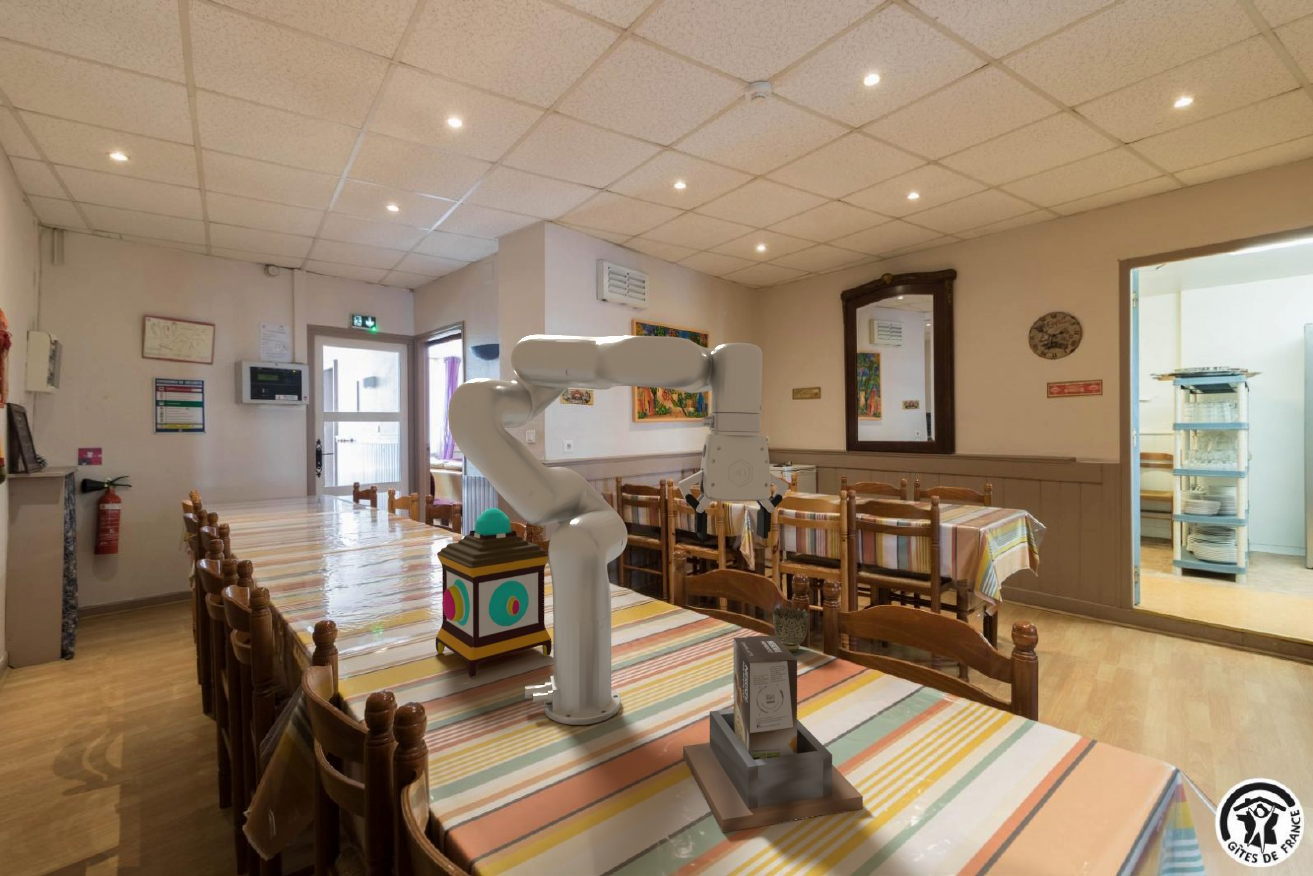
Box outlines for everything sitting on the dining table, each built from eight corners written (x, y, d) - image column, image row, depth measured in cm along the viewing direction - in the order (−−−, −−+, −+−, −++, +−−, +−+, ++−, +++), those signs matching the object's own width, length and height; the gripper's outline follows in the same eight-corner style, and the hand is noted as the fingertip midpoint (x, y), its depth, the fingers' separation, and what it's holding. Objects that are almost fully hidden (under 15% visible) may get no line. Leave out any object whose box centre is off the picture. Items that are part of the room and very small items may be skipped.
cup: (809, 658, 118) (809, 618, 118) (772, 655, 120) (772, 616, 120) (807, 644, 126) (808, 607, 126) (772, 642, 127) (772, 605, 127)
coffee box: (799, 789, 73) (800, 660, 73) (748, 792, 72) (749, 662, 72) (775, 749, 82) (776, 634, 82) (731, 751, 81) (731, 636, 81)
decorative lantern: (466, 684, 106) (465, 518, 106) (425, 653, 121) (425, 507, 120) (561, 656, 119) (561, 508, 119) (514, 631, 134) (514, 499, 134)
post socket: (722, 832, 67) (722, 776, 67) (683, 756, 83) (683, 710, 83) (862, 808, 72) (863, 755, 71) (800, 740, 87) (800, 697, 87)
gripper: (686, 424, 85) (683, 543, 85) (799, 427, 88) (795, 541, 88) (674, 424, 92) (671, 533, 92) (779, 426, 95) (776, 532, 96)
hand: (732, 537), depth 90 cm, fingers open, 9 cm apart
